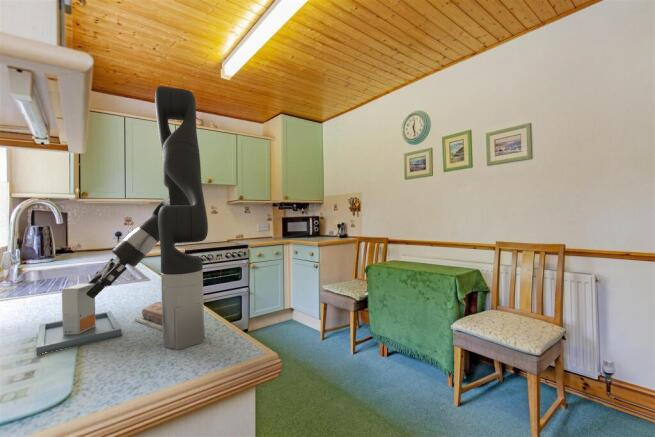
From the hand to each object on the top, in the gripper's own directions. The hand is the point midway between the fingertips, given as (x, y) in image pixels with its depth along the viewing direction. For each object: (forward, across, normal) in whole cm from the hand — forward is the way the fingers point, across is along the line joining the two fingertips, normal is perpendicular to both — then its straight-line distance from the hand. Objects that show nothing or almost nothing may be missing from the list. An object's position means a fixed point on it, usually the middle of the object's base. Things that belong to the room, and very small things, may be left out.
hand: (87, 293), depth 83 cm
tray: (+9, 0, +6) cm, 11 cm away
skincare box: (+8, -1, +6) cm, 10 cm away
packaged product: (-5, +6, +20) cm, 22 cm away
